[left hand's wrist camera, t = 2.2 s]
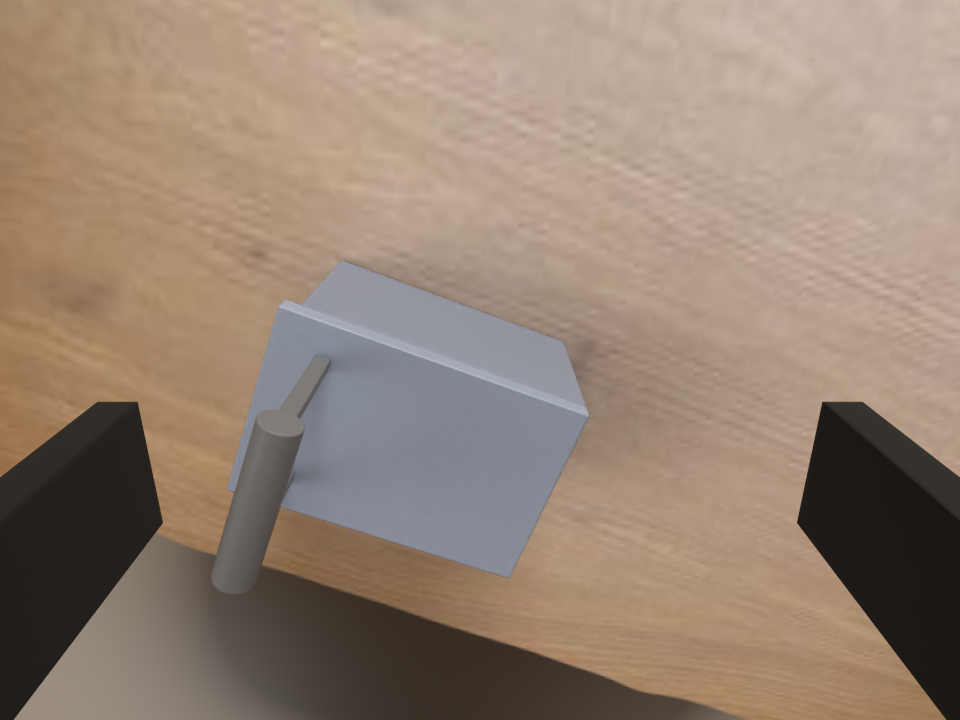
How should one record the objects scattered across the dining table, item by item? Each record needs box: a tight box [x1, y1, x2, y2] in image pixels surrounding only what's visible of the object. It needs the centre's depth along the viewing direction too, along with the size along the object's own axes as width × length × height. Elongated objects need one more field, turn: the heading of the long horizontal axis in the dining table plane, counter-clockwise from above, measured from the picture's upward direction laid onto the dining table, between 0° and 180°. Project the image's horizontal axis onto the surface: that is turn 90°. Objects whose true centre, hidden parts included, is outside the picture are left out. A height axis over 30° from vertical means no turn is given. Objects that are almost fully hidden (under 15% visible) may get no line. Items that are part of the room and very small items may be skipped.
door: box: [211, 300, 589, 595], centre depth 26 cm, size 14×10×8 cm
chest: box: [301, 260, 586, 407], centre depth 35 cm, size 13×10×9 cm
